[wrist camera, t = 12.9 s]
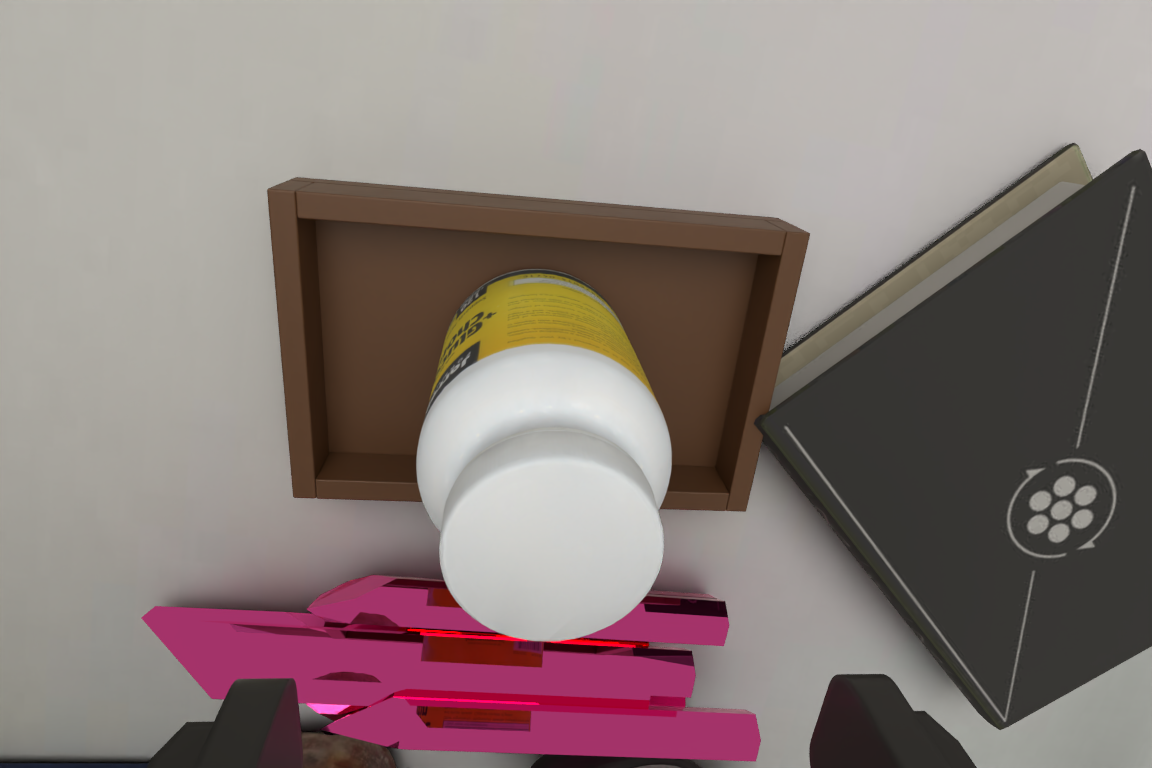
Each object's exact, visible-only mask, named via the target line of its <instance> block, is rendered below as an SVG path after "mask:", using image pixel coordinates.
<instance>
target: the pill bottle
mask: <svg viewBox="0 0 1152 768" xmlns="http://www.w3.org/2000/svg"><path fill="white" fill-rule="evenodd" d="M671 466H672V452H671V442H670V436H669V432H668V428H667V425H666V422H665V419H664V416H663V413H662V411H661V409H660V407H659V404H658V402H657V400H656V398H655V396H654V393H653V391H652V389H651V387H650V384H649V382H648V380H647V378H646V376H645V373H644V371H643V369H642V367H641V365H640V362H639V360H638V358H637V356H636V354H635V352H634V350H633V348H632V346H631V344H630V342H629V340H628V337H627V335H626V333H625V331H624V329H623V327H622V325H621V322H620V320H619V318H618V316H617V315H616V313H615V312H614V310H613V309H612V307H611V306H610V304H609V303H608V302H607V301H606V300H605V299H604V297H603V296H602V295H601V294H599V293H598V292H597V291H596V290H595V289H594V288H592V287H591V286H590V285H588V284H586V283H585V282H583V281H581V280H579V279H577V278H575V277H573V276H571V275H568V274H565V273H562V272H558V271H553V270H547V269H525V270H518V271H514V272H510V273H507V274H503V275H501V276H498V277H496V278H494V279H492V280H490V281H489V282H487V283H485V284H484V285H482V286H481V287H479V288H478V289H477V290H476V291H474V292H473V293H472V294H471V295H470V296H469V297H468V298H467V299H466V300H465V301H464V303H463V304H462V305H461V306H460V308H459V309H458V311H457V312H456V314H455V315H454V317H453V319H452V321H451V323H450V326H449V328H448V331H447V334H446V337H445V341H444V345H443V349H442V353H441V357H440V361H439V365H438V369H437V373H436V377H435V381H434V385H433V388H432V392H431V396H430V400H429V404H428V407H427V411H426V415H425V418H424V422H423V425H422V429H421V434H420V438H419V443H418V448H417V457H416V472H417V482H418V487H419V491H420V495H421V498H422V501H423V504H424V506H425V508H426V511H427V513H428V515H429V517H430V518H431V520H432V522H433V524H434V525H435V526H436V528H437V529H438V530H439V532H440V533H441V535H440V546H439V559H440V565H441V570H442V574H443V577H444V580H445V583H446V585H447V587H448V589H449V591H450V593H451V595H452V596H453V597H454V599H455V600H456V602H457V603H458V604H459V605H460V606H461V607H462V608H463V610H464V611H466V612H467V613H468V614H469V615H470V616H471V617H472V618H474V619H475V620H477V621H478V622H479V623H481V624H483V625H484V626H486V627H488V628H490V629H492V630H494V631H496V632H498V633H501V634H504V635H507V636H510V637H514V638H519V639H524V640H530V641H563V640H570V639H576V638H579V637H583V636H586V635H589V634H592V633H594V632H597V631H599V630H602V629H604V628H606V627H608V626H610V625H612V624H614V623H615V622H617V621H618V620H620V619H622V618H623V617H624V616H626V615H627V614H628V613H629V612H631V611H632V610H633V609H634V608H635V607H636V606H637V605H638V604H639V603H640V602H641V601H642V599H643V598H644V597H645V596H646V594H647V593H648V592H649V591H650V589H651V587H652V585H653V584H654V582H655V580H656V578H657V575H658V573H659V571H660V567H661V563H662V559H663V553H664V534H663V527H662V523H661V519H660V515H659V512H658V510H659V509H660V507H661V505H662V502H663V500H664V497H665V495H666V492H667V488H668V484H669V480H670V475H671Z"/></svg>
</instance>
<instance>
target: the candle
mask: <svg viewBox="0 0 1152 768" xmlns="http://www.w3.org/2000/svg"><path fill="white" fill-rule="evenodd" d="M301 736H302V746H303V766H302V768H396V765H395V762H394V759H393V758H392V756H391V754H390V752H389V750H388V749H387V748H385V747H384V746H381V745H378V744H375V743H371V742H367V741H363V740H359V739H355V738H351V737H347V736H343V735H339V734H338V735H325V734H324V733H323V732H322V731H321V732H301Z"/></svg>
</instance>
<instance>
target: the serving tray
mask: <svg viewBox="0 0 1152 768" xmlns="http://www.w3.org/2000/svg"><path fill="white" fill-rule="evenodd" d="M267 193H268V205H269V217H270V229H271V241H272V252H273V264H274V276H275V288H276V300H277V311H278V323H279V335H280V347H281V358H282V370H283V382H284V394H285V406H286V417H287V429H288V441H289V453H290V465H291V476H292V488H293V497H294V498H316V497H317V498H318V499H350V500H382V501H415V502H423V501H422V498H421V495H420V491H419V487H418V482H417V472H416V457H417V448H418V443H419V438H420V434H421V429H422V425H423V422H424V418H425V415H426V411H427V407H428V404H429V400H430V396H431V392H432V388H433V385H434V381H435V377H436V373H437V369H438V365H439V361H440V357H441V353H442V349H443V345H444V341H445V337H446V334H447V331H448V328H449V326H450V323H451V321H452V319H453V317H454V315H455V314H456V312H457V311H458V309H459V308H460V306H461V305H462V304H463V303H464V301H465V300H466V299H467V298H468V297H469V296H470V295H471V294H472V293H473V292H474V291H476V290H477V289H478V288H479V287H481V286H482V285H484V284H485V283H487V282H489V281H490V280H492V279H494V278H496V277H498V276H501V275H503V274H507V273H510V272H514V271H518V270H525V269H547V270H553V271H558V272H562V273H565V274H568V275H571V276H573V277H575V278H577V279H579V280H581V281H583V282H585V283H586V284H588V285H590V286H591V287H592V288H594V289H595V290H596V291H597V292H598V293H599V294H601V295H602V296H603V297H604V299H605V300H606V301H607V302H608V303H609V304H610V306H611V307H612V309H613V310H614V312H615V313H616V315H617V316H618V318H619V320H620V322H621V325H622V327H623V329H624V331H625V333H626V335H627V337H628V340H629V342H630V344H631V346H632V348H633V350H634V352H635V354H636V356H637V358H638V360H639V362H640V365H641V367H642V369H643V371H644V373H645V376H646V378H647V380H648V382H649V384H650V387H651V389H652V391H653V393H654V396H655V398H656V400H657V402H658V404H659V407H660V409H661V411H662V413H663V416H664V419H665V422H666V425H667V428H668V432H669V436H670V442H671V452H672V466H671V475H670V480H669V484H668V488H667V492H666V495H665V497H664V500H663V502H662V505H661V507H660V509H679V510H712V511H725V510H726V511H746V508H747V504H748V500H749V495H750V491H751V487H752V482H753V478H754V474H755V469H756V465H757V461H758V456H759V452H760V448H761V443H762V439H763V435H762V433H761V432H760V431H759V430H758V428H757V427H756V426H755V425H754V422H755V419H756V418H757V417H759V416H760V415H765V414H766V413H767V412H769V409H770V405H771V400H772V396H773V392H774V387H775V383H776V379H777V374H778V370H779V366H780V361H781V357H782V353H783V348H784V344H785V340H786V335H787V331H788V327H789V323H790V318H791V314H792V310H793V305H794V301H795V297H796V292H797V288H798V284H799V279H800V275H801V271H802V266H803V262H804V258H805V253H806V249H807V245H808V240H809V236H810V233H808V232H806V231H804V230H802V229H800V228H798V227H796V226H793V225H791V224H789V223H787V222H785V221H783V220H781V219H779V218H771V217H760V216H748V215H736V214H724V213H712V212H700V211H689V210H677V209H665V208H653V207H641V206H629V205H618V204H606V203H594V202H582V201H570V200H559V199H547V198H535V197H523V196H511V195H499V194H488V193H476V192H464V191H452V190H440V189H429V188H417V187H405V186H393V185H381V184H369V183H358V182H346V181H334V180H322V179H310V178H298V177H296V178H293V179H291V180H289V181H286V182H283V183H281V184H279V185H276V186H274V187H271V188H269V189H268V190H267Z"/></svg>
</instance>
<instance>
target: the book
mask: <svg viewBox="0 0 1152 768" xmlns="http://www.w3.org/2000/svg"><path fill="white" fill-rule="evenodd" d="M754 425H755V426H756V427H757V428H758V430H759V431H760V432H761V433H762V435H763V439H762V441H763V443H764V444H765V445H766V446H767V448H768V449H769V450H770V451H771V453H772V454H773V455H774V456H775V458H776V459H777V460H778V461H779V463H780V464H781V465H782V466H783V468H784V469H785V470H786V471H787V473H788V474H789V475H790V477H791V478H792V479H793V480H794V482H795V483H796V484H797V485H798V487H799V488H800V489H801V490H802V492H803V493H804V494H805V495H806V497H807V498H808V499H809V500H810V502H811V503H812V504H813V505H814V507H815V508H816V509H817V511H818V512H819V513H820V514H821V516H822V517H823V518H824V519H825V521H826V522H827V523H828V524H829V526H830V527H831V528H832V529H833V531H834V532H835V533H836V534H837V536H838V537H839V538H840V539H841V541H842V542H843V543H844V545H845V546H846V547H847V548H848V550H849V551H850V552H851V553H852V555H853V556H854V557H855V558H856V560H857V561H858V562H859V563H860V565H861V566H862V567H863V568H864V570H865V571H866V572H867V573H868V575H869V576H870V577H871V578H872V580H873V581H874V582H875V584H876V585H877V586H878V587H879V589H880V590H881V591H882V592H883V594H884V595H885V596H886V597H887V599H888V600H889V601H890V602H891V604H892V605H893V606H894V607H895V609H896V610H897V611H898V612H899V614H900V615H901V616H902V618H903V619H904V620H905V621H906V623H907V624H908V625H909V626H910V628H911V629H912V630H913V631H914V633H915V634H916V635H917V636H918V638H919V639H920V640H921V641H922V643H923V644H924V645H925V646H926V648H927V649H928V650H929V652H930V653H931V654H932V655H933V657H934V658H935V659H936V660H937V662H938V663H939V664H940V665H941V667H942V668H943V669H944V670H945V672H946V673H947V674H948V675H949V677H950V678H951V679H952V680H953V682H954V683H955V684H956V685H957V687H958V688H959V689H960V691H961V692H962V693H963V694H964V696H965V697H966V698H967V699H968V701H969V702H970V703H971V704H972V706H973V707H974V708H975V709H976V711H977V712H978V713H979V714H980V715H981V716H982V717H983V718H984V719H985V720H986V721H987V722H989V723H990V724H992V725H993V726H994V727H996V728H998V729H999V730H1001V729H1004V728H1006V727H1008V726H1010V725H1012V724H1014V723H1016V722H1017V721H1019V720H1021V719H1023V718H1024V717H1026V716H1028V715H1030V714H1032V713H1033V712H1035V711H1037V710H1039V709H1041V708H1042V707H1044V706H1046V705H1048V704H1049V703H1051V702H1053V701H1055V700H1057V699H1058V698H1060V697H1062V696H1064V695H1065V694H1067V693H1069V692H1071V691H1073V690H1074V689H1076V688H1078V687H1080V686H1082V685H1083V684H1085V683H1087V682H1089V681H1090V680H1092V679H1094V678H1096V677H1098V676H1099V675H1101V674H1103V673H1105V672H1106V671H1108V670H1110V669H1112V668H1114V667H1115V666H1117V665H1119V664H1121V663H1123V662H1124V661H1126V660H1128V659H1130V658H1131V657H1133V656H1135V655H1137V654H1139V653H1140V652H1142V651H1144V650H1146V649H1148V648H1149V647H1151V646H1152V168H1151V166H1150V163H1149V160H1148V158H1147V155H1146V153H1145V151H1143V150H1141V149H1139V150H1136V151H1132V152H1131V153H1130V154H1128V155H1127V156H1125V157H1124V158H1123V159H1121V160H1120V161H1118V162H1117V163H1116V164H1114V165H1113V166H1111V167H1110V168H1109V169H1107V170H1106V171H1104V172H1103V173H1102V174H1100V175H1099V176H1097V177H1096V178H1095V179H1092V176H1091V174H1090V172H1089V169H1088V167H1087V165H1086V162H1085V160H1084V158H1083V155H1082V153H1081V151H1080V148H1079V146H1078V145H1077V144H1075V143H1072V144H1069V145H1067V146H1066V147H1064V148H1063V149H1062V150H1060V151H1059V152H1057V153H1056V154H1055V155H1053V156H1052V157H1051V158H1049V159H1048V160H1047V161H1045V162H1044V163H1042V164H1041V165H1040V166H1038V167H1037V168H1036V169H1034V170H1033V171H1032V172H1030V173H1029V174H1027V175H1026V176H1025V177H1023V178H1022V179H1021V180H1019V181H1018V182H1016V183H1015V184H1014V185H1012V186H1011V187H1010V188H1008V189H1007V190H1006V191H1004V192H1003V193H1001V194H1000V195H999V196H997V197H996V198H995V199H993V200H992V201H991V202H989V203H988V204H986V205H985V206H984V207H982V208H981V209H980V210H978V211H977V212H975V213H974V214H973V215H971V216H970V217H969V218H967V219H966V220H965V221H963V222H962V223H960V224H959V225H958V226H956V227H955V228H954V229H952V230H951V231H949V232H948V233H947V234H945V235H944V236H943V237H941V238H940V239H939V240H937V241H936V242H934V243H933V244H932V245H930V246H929V247H928V248H926V249H925V250H924V251H922V252H921V253H919V254H918V255H917V256H915V257H914V258H913V259H911V260H910V261H908V262H907V263H906V264H904V265H903V266H902V267H900V268H899V269H898V270H896V271H895V272H893V273H892V274H891V275H889V276H888V277H887V278H885V279H884V280H882V281H881V282H880V283H878V284H877V285H876V286H874V287H873V288H872V289H870V290H869V291H867V292H866V293H865V294H863V295H862V296H861V297H859V298H858V299H857V300H855V301H854V302H852V303H851V304H850V305H848V306H847V307H846V308H844V309H843V310H841V311H840V312H839V313H837V314H836V315H835V316H833V317H832V318H831V319H829V320H828V321H826V322H825V323H824V324H822V325H821V326H820V327H818V328H817V329H816V330H814V331H813V332H811V333H810V334H809V335H807V336H806V337H805V338H803V339H802V340H800V341H799V342H798V343H796V344H795V345H794V346H792V347H791V348H790V349H788V350H787V351H785V352H784V353H783V354H782V357H781V361H780V366H779V370H778V374H777V379H776V383H775V387H774V392H773V396H772V400H771V405H770V409H769V412H767V413H766V414H765V415H760V416H759V417H757V418H756V419H755V422H754Z"/></svg>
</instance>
